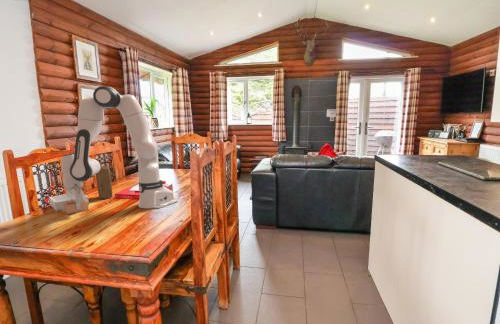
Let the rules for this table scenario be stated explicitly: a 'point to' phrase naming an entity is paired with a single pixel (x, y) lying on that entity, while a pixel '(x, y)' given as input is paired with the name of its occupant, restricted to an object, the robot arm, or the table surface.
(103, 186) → the block
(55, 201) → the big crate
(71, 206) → the small crate
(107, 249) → the table surface
